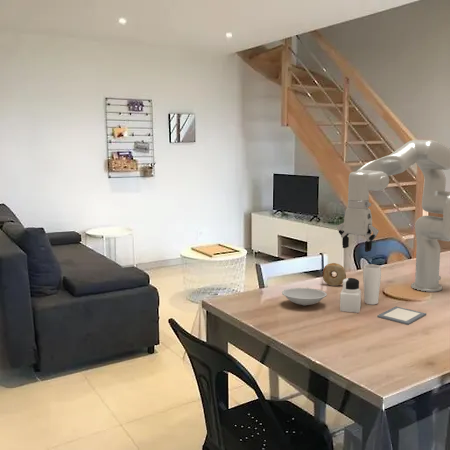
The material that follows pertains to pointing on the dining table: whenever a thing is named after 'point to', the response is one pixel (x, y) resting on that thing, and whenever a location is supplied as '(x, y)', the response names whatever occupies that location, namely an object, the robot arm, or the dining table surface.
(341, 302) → the medicine bottle
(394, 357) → the dining table surface
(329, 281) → the brown thick ring
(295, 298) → the dish
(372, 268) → the drinking glass
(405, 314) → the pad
